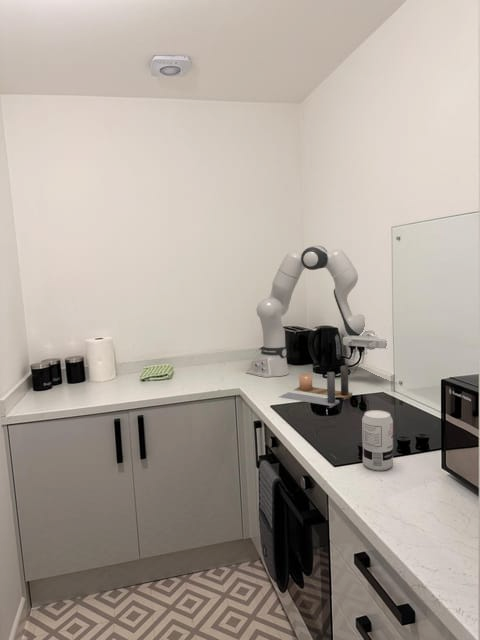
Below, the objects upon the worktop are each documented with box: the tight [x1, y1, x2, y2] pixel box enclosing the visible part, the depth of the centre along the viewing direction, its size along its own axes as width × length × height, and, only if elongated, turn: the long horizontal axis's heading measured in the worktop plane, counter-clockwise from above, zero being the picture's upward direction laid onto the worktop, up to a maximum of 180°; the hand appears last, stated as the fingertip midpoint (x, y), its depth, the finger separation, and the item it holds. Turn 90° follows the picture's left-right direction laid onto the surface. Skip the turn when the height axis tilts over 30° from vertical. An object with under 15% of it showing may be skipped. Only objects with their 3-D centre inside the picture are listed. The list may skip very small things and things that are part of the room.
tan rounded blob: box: [298, 373, 313, 391], centre depth 214 cm, size 6×6×6 cm
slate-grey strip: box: [278, 371, 340, 409], centre depth 200 cm, size 24×8×13 cm, turn 52°
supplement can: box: [361, 409, 394, 472], centre depth 137 cm, size 8×8×15 cm
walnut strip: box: [293, 365, 353, 401], centre depth 209 cm, size 24×8×13 cm, turn 52°
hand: (358, 344), depth 212 cm, fingers open, 8 cm apart
